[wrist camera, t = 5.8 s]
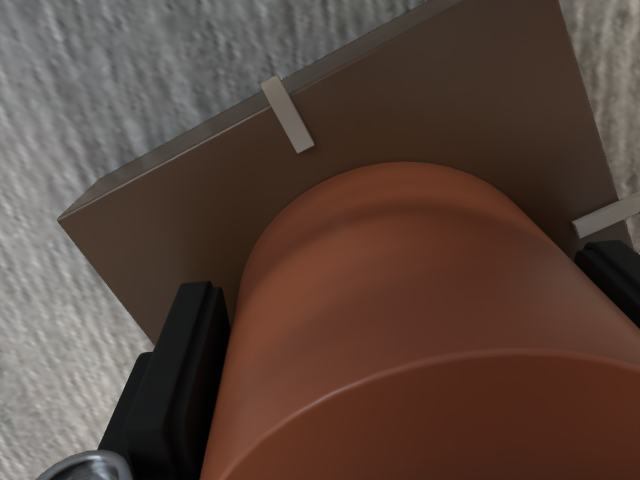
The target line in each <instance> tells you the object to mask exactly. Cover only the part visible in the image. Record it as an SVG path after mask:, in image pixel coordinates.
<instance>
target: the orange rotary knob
mask: <svg viewBox="0 0 640 480" xmlns="http://www.w3.org/2000/svg"><path fill="white" fill-rule="evenodd" d="M200 480H640V329H639V328H638V327H637V326H636V325H635V324H634V323H633V322H632V321H631V320H630V319H629V318H628V317H627V316H626V315H625V314H624V313H623V312H622V311H621V310H620V309H619V308H618V307H617V306H616V305H615V304H614V303H613V302H612V301H611V300H610V299H609V298H608V297H607V296H606V295H605V294H604V293H603V292H602V291H601V290H600V289H599V288H598V287H597V286H596V285H595V284H594V283H593V282H592V281H591V280H590V279H589V278H588V276H587V275H586V274H585V273H584V272H583V271H582V270H581V269H580V268H579V267H578V266H577V265H576V264H575V263H574V262H573V261H572V260H571V259H570V258H569V257H568V256H567V255H566V254H565V253H564V252H563V251H562V250H561V249H560V248H559V247H558V246H557V245H556V244H555V243H554V242H553V241H552V240H551V239H550V238H549V237H548V236H547V235H546V234H545V233H544V232H543V231H542V230H541V229H540V228H539V227H538V226H537V225H536V224H535V223H534V222H533V221H532V220H531V219H530V218H529V217H528V216H527V215H526V214H525V213H524V212H523V211H522V210H521V209H520V208H519V207H518V206H517V205H516V204H515V203H514V202H513V201H511V200H510V199H509V198H508V197H507V196H506V195H505V194H504V193H502V192H501V191H499V190H498V189H496V188H495V187H493V186H492V185H491V184H489V183H487V182H485V181H483V180H481V179H479V178H477V177H475V176H473V175H471V174H469V173H466V172H463V171H460V170H457V169H454V168H451V167H447V166H442V165H436V164H431V163H422V162H391V163H380V164H375V165H370V166H365V167H360V168H356V169H353V170H350V171H347V172H344V173H341V174H338V175H336V176H334V177H332V178H329V179H327V180H325V181H323V182H321V183H319V184H317V185H315V186H314V187H312V188H311V189H309V190H307V191H306V192H304V193H303V194H301V195H300V196H298V197H297V198H296V199H294V200H293V201H292V202H291V203H290V204H289V205H287V206H286V207H285V208H284V209H283V210H282V211H280V213H279V214H278V215H277V216H276V217H275V218H274V219H273V220H272V221H271V223H270V224H269V225H268V226H267V227H266V229H265V230H264V232H263V233H262V234H261V236H260V237H259V239H258V240H257V242H256V243H255V245H254V247H253V249H252V251H251V253H250V256H249V258H248V260H247V262H246V265H245V268H244V271H243V275H242V278H241V282H240V287H239V291H238V296H237V301H236V306H235V311H234V316H233V320H232V325H231V330H230V335H229V340H228V345H227V349H226V354H225V359H224V364H223V369H222V374H221V379H220V383H219V388H218V393H217V398H216V403H215V408H214V412H213V417H212V422H211V427H210V432H209V437H208V441H207V446H206V451H205V456H204V461H203V466H202V470H201V475H200Z"/></svg>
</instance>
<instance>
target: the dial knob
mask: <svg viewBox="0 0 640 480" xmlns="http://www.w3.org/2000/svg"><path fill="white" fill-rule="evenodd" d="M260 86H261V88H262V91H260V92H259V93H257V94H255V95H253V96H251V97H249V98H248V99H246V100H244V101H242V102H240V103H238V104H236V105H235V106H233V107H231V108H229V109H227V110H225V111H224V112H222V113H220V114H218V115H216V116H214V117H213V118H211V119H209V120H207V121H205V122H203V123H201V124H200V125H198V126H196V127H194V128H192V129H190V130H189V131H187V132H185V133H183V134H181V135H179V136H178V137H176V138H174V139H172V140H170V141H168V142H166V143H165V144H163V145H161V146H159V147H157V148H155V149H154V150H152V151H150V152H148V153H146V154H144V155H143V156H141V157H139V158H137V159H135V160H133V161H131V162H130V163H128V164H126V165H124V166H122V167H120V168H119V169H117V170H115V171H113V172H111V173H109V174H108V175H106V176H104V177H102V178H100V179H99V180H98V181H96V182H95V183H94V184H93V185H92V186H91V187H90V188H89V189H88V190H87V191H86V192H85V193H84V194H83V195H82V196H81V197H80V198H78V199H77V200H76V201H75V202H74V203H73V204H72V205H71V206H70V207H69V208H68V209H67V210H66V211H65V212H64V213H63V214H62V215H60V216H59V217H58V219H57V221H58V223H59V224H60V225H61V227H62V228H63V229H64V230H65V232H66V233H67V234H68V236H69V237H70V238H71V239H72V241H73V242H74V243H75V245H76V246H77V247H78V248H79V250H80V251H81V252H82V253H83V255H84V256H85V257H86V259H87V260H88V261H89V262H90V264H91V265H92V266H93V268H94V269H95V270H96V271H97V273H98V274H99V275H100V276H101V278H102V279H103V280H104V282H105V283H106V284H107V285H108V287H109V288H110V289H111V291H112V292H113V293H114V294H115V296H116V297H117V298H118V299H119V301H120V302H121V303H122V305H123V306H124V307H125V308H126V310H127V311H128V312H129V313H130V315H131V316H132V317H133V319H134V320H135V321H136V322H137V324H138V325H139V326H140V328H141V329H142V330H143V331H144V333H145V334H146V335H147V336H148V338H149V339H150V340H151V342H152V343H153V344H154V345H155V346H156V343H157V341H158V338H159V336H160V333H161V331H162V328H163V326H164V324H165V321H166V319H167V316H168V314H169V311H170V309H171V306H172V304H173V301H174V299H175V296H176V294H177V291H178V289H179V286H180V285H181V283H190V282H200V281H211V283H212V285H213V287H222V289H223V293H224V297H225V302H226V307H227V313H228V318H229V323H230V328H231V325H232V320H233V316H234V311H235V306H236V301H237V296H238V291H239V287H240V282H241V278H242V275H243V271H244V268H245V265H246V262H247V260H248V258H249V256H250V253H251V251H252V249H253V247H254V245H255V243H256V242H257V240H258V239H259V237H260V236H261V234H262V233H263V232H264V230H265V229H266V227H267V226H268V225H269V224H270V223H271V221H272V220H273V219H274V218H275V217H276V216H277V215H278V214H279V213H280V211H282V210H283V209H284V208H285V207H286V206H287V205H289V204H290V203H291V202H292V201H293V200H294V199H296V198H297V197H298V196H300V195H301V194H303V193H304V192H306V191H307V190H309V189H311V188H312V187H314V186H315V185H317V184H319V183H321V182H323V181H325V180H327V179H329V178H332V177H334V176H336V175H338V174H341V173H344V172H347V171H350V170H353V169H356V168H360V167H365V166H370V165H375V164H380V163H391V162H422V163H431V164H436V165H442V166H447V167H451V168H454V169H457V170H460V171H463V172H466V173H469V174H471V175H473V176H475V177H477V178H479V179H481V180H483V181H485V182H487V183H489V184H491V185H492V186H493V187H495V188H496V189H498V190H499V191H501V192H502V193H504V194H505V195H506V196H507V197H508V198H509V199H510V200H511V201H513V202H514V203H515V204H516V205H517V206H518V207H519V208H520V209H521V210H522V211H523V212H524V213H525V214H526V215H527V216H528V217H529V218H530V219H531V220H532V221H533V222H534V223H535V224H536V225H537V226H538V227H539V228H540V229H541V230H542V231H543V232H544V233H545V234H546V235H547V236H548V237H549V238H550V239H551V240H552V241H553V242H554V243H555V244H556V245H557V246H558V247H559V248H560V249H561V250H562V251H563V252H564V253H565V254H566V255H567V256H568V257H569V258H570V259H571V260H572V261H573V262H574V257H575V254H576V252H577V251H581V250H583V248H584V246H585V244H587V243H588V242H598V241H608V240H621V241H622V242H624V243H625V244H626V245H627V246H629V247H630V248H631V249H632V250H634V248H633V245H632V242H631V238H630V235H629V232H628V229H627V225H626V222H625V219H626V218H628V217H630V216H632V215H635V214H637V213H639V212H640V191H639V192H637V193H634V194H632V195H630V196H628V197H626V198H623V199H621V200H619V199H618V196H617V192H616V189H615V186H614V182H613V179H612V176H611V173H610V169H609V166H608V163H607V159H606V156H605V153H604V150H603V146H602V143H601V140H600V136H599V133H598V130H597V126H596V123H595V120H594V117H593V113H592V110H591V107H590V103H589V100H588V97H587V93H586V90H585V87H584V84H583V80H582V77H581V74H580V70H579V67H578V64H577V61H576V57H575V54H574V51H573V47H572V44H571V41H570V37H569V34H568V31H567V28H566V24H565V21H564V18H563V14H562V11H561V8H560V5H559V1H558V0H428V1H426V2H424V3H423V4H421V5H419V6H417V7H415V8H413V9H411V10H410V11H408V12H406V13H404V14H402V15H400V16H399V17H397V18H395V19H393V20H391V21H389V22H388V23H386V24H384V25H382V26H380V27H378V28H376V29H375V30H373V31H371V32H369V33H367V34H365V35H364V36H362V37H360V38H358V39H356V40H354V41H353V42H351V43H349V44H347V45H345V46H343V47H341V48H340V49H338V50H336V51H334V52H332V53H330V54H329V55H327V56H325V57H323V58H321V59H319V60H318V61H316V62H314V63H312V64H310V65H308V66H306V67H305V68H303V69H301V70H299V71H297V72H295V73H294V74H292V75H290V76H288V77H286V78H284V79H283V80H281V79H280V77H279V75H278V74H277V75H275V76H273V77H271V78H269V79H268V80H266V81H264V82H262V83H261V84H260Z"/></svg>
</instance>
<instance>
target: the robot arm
mask: <svg viewBox="0 0 640 480" xmlns="http://www.w3.org/2000/svg"><path fill="white" fill-rule="evenodd" d="M574 263H575V264H576V265H577V266H578V267H579V268H580V269H581V270H582V271H583V272H584V273H585V274H586V275H587V276H588V278H589V279H590V280H591V281H592V282H593V283H594V284H595V285H596V286H597V287H598V288H599V289H600V290H601V291H602V292H603V293H604V294H605V295H606V296H607V297H608V298H609V299H610V300H611V301H612V302H613V303H614V304H615V305H616V306H617V307H618V308H619V309H620V310H621V311H622V312H623V313H624V314H625V315H626V316H627V317H628V318H629V319H630V320H631V321H632V322H633V323H634V324H635V325H636V326H637V327H638V328H639V329H640V255H639V254H638V253H636V252H635V251H634V250H632V249H631V248H630V247H629V246H627V245H626V244H625V243H624V242H622V241H621V240H608V241H598V242H588V243H587V244H585V246H584V248H583V250H581V251H577V252H576V254H575V257H574ZM230 330H231V328H230V323H229V318H228V313H227V307H226V302H225V297H224V293H223V289H222V287H213V285H212V283H211V281H200V282H190V283H181V285H180V286H179V289H178V291H177V294H176V296H175V299H174V301H173V304H172V306H171V309H170V311H169V314H168V316H167V319H166V321H165V324H164V326H163V328H162V331H161V333H160V336H159V338H158V341H157V343H156V346H155V348H154V351H153V352H145V353H142V354H140V355H139V357H138V358H137V360H136V362H135V365H134V367H133V369H132V372H131V374H130V376H129V378H128V381H127V383H126V385H125V388H124V390H123V392H122V394H121V397H120V399H119V401H118V404H117V406H116V408H115V410H114V413H113V415H112V417H111V420H110V422H109V424H108V426H107V429H106V431H105V433H104V436H103V438H102V440H101V442H100V445H99V447H98V449H97V450H92V451H85V452H82V453H79V454H75V455H72V456H70V457H68V458H66V459H64V460H62V461H60V462H58V463H56V464H54V465H53V466H52V467H50V468H49V469H47V470H46V471H45V472H43V473H42V474H41V475H40V476H39V477H38V478H37V479H36V480H200V475H201V470H202V466H203V461H204V456H205V451H206V446H207V441H208V437H209V432H210V427H211V422H212V417H213V412H214V408H215V403H216V398H217V393H218V388H219V383H220V379H221V374H222V369H223V364H224V359H225V354H226V349H227V345H228V340H229V335H230Z"/></svg>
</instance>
